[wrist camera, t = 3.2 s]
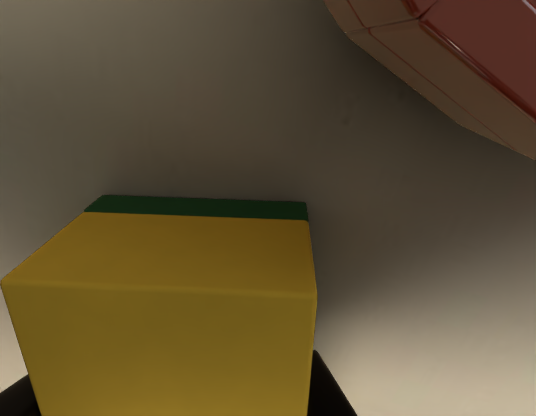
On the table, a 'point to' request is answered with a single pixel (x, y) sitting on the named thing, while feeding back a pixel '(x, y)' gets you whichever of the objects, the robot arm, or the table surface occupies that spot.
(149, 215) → the sponge
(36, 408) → the robot arm
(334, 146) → the table surface
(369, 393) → the table surface
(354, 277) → the table surface
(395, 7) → the wash bowl
